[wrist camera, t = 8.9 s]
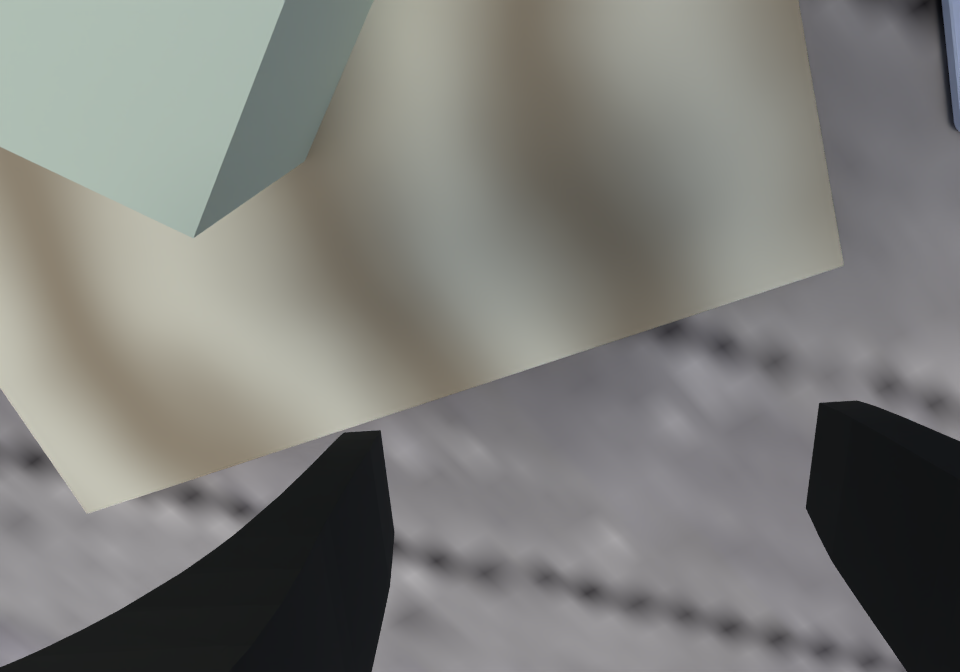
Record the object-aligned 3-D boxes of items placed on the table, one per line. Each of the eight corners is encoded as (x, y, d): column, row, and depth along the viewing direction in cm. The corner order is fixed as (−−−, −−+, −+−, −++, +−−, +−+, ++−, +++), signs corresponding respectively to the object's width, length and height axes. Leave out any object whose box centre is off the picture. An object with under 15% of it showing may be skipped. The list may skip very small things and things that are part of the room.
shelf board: (673, -546, 15) (693, -607, 13) (819, 251, 21) (844, 265, 20) (-275, -93, 18) (-338, -105, 16) (109, 486, 24) (86, 514, 23)
